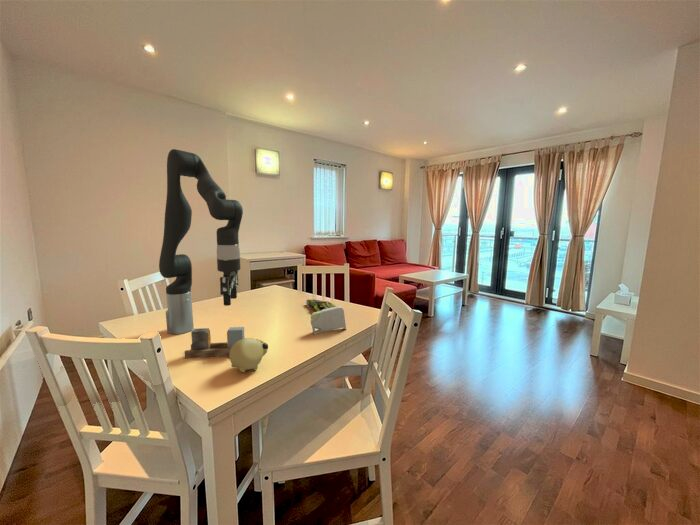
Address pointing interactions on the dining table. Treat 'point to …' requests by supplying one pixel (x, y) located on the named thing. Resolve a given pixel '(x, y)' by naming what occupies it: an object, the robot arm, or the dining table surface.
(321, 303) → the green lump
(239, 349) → the toy pig
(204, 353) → the rail
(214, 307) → the dining table surface
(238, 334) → the grey rectangular block
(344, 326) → the grey rectangular slab
